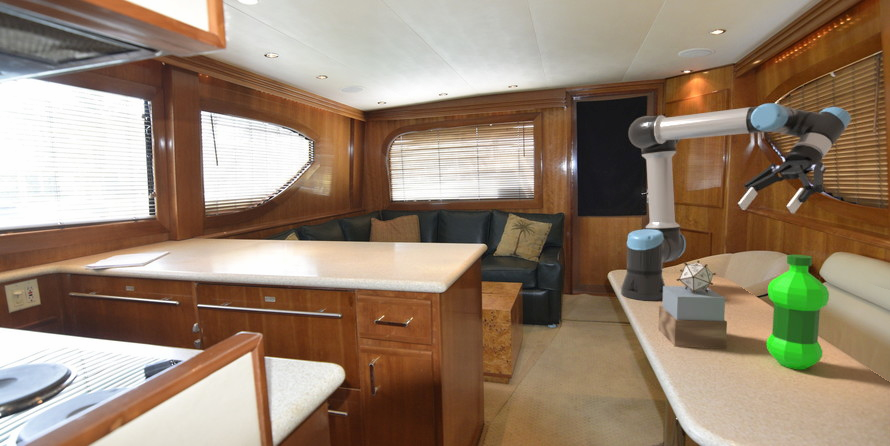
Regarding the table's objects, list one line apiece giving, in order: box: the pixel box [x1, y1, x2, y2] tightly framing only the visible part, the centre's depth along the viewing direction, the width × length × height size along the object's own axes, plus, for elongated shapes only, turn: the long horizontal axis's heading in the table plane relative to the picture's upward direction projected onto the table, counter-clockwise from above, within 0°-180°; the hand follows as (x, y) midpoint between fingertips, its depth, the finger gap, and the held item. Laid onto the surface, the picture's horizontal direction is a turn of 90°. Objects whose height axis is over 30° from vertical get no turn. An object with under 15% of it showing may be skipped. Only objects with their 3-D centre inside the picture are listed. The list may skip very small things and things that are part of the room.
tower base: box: [658, 305, 728, 349], centre depth 114 cm, size 12×12×7 cm
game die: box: [675, 259, 717, 294], centre depth 113 cm, size 9×8×10 cm
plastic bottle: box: [766, 254, 830, 370], centre depth 97 cm, size 10×11×25 cm
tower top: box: [661, 285, 726, 321], centre depth 114 cm, size 11×11×6 cm
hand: (764, 208), depth 119 cm, fingers open, 13 cm apart
